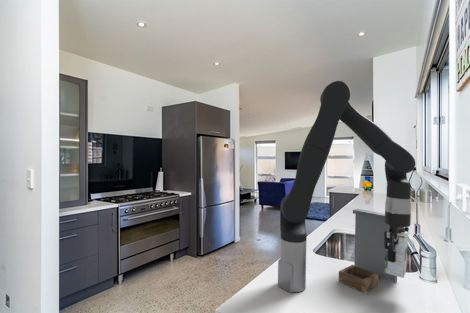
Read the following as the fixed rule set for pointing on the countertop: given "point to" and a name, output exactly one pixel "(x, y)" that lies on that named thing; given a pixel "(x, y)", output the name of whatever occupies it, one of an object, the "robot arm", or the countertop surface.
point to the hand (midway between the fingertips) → (395, 259)
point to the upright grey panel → (371, 242)
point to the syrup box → (398, 257)
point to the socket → (358, 278)
